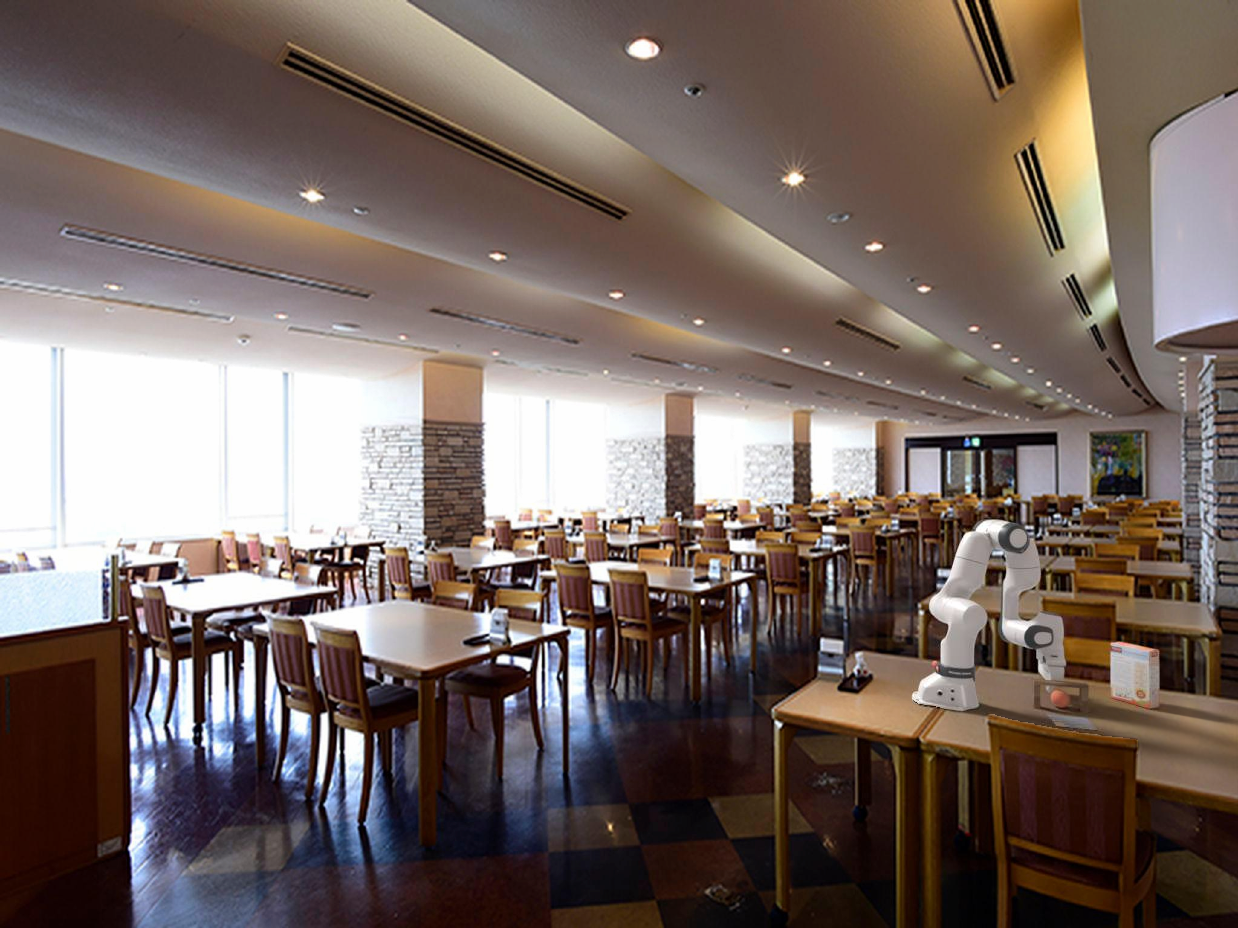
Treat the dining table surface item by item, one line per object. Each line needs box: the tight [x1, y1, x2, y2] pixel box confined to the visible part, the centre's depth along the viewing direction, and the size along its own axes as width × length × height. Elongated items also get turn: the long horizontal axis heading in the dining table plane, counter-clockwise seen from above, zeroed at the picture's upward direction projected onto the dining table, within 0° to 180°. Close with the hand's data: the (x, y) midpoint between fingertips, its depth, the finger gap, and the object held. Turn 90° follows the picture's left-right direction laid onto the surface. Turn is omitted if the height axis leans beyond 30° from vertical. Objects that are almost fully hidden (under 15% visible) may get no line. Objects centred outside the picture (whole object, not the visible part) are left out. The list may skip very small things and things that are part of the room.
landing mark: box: [1046, 713, 1098, 731], centre depth 242 cm, size 12×12×1 cm
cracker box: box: [1110, 641, 1160, 710], centre depth 262 cm, size 14×6×21 cm, turn 22°
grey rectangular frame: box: [1031, 678, 1090, 714], centre depth 256 cm, size 3×17×10 cm, turn 72°
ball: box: [1050, 689, 1071, 709], centre depth 258 cm, size 6×6×6 cm
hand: (1050, 691), depth 268 cm, fingers closed
